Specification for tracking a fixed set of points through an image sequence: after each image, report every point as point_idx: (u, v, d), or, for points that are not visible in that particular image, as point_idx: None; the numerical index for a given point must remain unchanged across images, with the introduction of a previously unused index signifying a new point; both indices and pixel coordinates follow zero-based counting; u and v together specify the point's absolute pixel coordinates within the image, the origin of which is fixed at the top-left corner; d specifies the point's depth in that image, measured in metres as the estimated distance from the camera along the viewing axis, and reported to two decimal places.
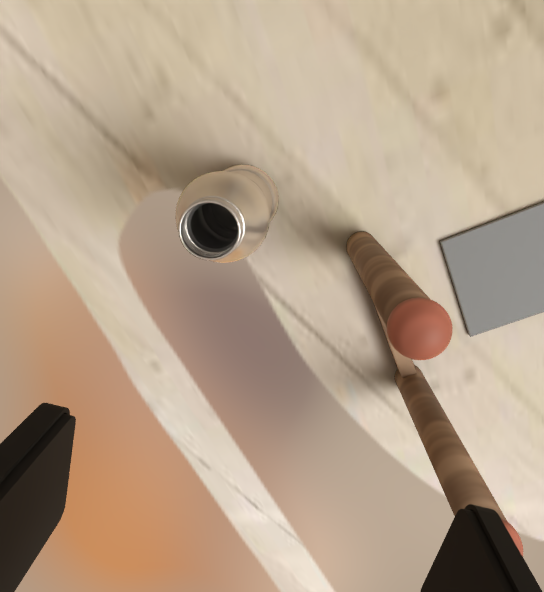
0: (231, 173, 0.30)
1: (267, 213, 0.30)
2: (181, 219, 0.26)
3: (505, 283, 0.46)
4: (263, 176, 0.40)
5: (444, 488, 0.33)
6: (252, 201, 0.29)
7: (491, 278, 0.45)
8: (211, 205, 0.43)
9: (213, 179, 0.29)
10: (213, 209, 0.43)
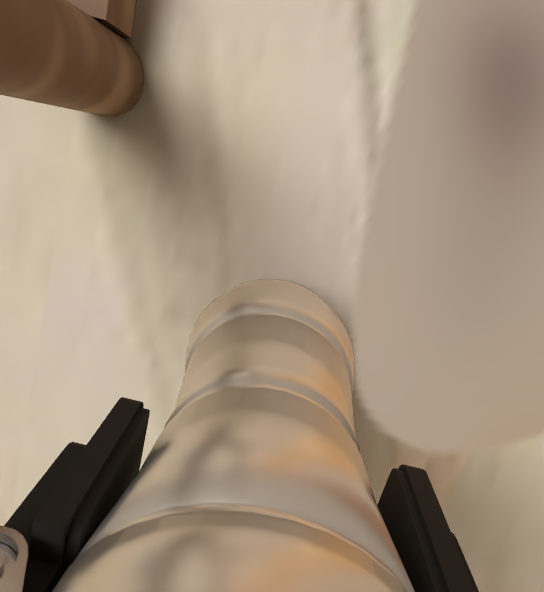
0: None
1: None
2: None
3: None
4: None
5: None
6: None
7: None
8: None
9: None
10: None
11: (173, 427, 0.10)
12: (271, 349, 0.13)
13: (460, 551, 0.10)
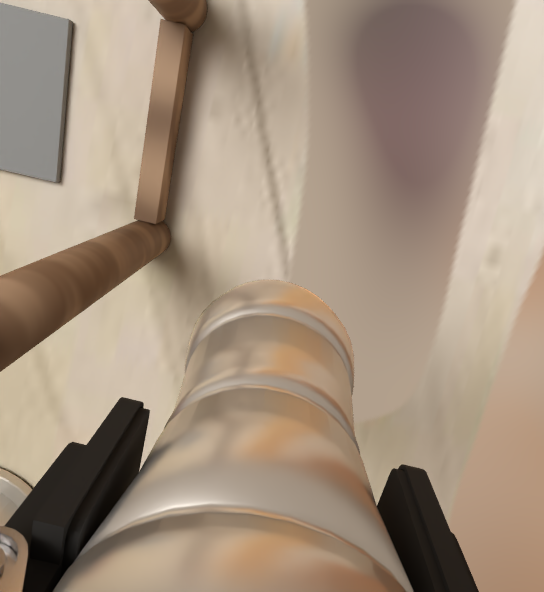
0: None
1: None
2: None
3: None
4: None
5: None
6: None
7: (11, 93, 0.32)
8: None
9: None
10: None
11: (173, 428, 0.10)
12: (271, 350, 0.13)
13: (460, 551, 0.10)
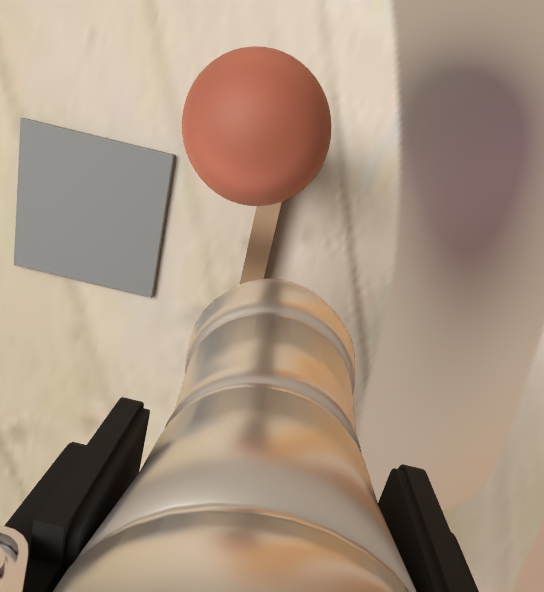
0: None
1: None
2: None
3: (100, 201, 0.33)
4: None
5: None
6: None
7: (113, 218, 0.33)
8: None
9: None
10: None
11: (174, 427, 0.10)
12: (272, 349, 0.13)
13: (460, 551, 0.10)
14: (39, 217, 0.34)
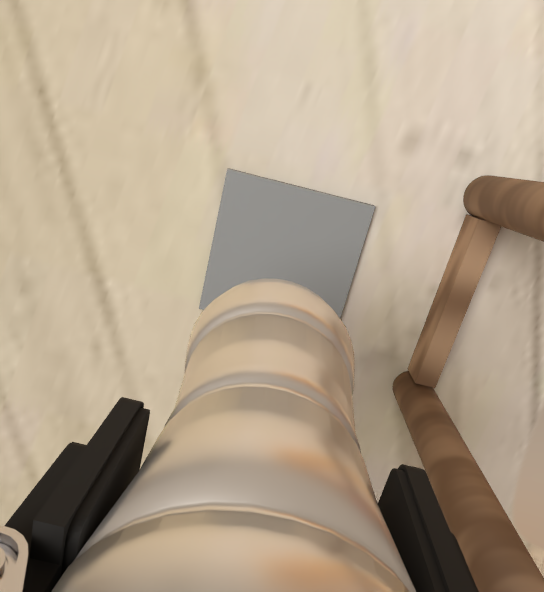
0: None
1: None
2: None
3: (295, 249, 0.33)
4: None
5: None
6: None
7: (306, 266, 0.34)
8: None
9: None
10: None
11: (173, 426, 0.10)
12: (271, 348, 0.13)
13: (460, 551, 0.10)
14: (231, 263, 0.34)
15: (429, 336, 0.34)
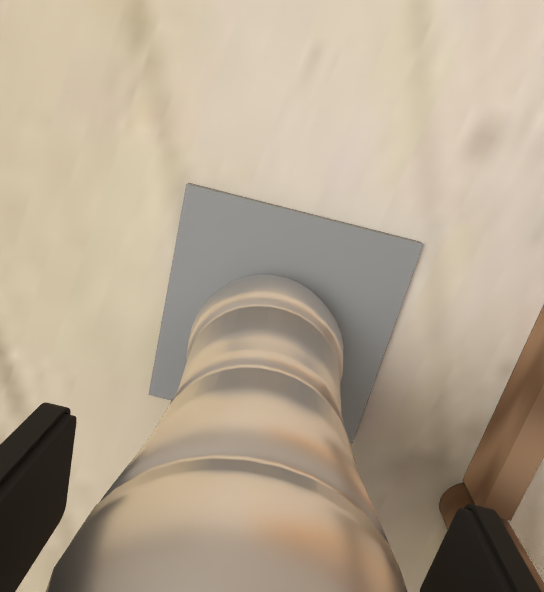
0: None
1: (50, 587, 0.07)
2: None
3: None
4: None
5: None
6: None
7: None
8: None
9: None
10: None
11: (179, 401, 0.11)
12: (266, 336, 0.14)
13: None
14: None
15: (503, 443, 0.22)
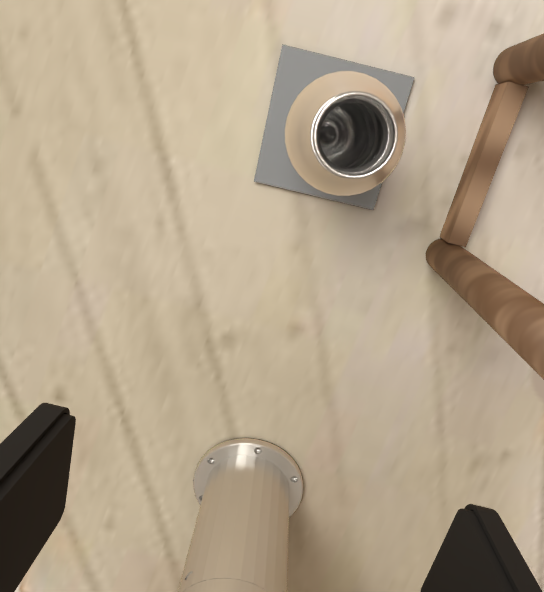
0: (300, 174, 0.25)
1: (294, 105, 0.23)
2: (374, 171, 0.20)
3: None
4: None
5: None
6: (297, 130, 0.23)
7: None
8: None
9: (319, 182, 0.24)
10: (364, 147, 0.36)
11: None
12: None
13: None
14: (284, 136, 0.38)
15: (461, 199, 0.38)
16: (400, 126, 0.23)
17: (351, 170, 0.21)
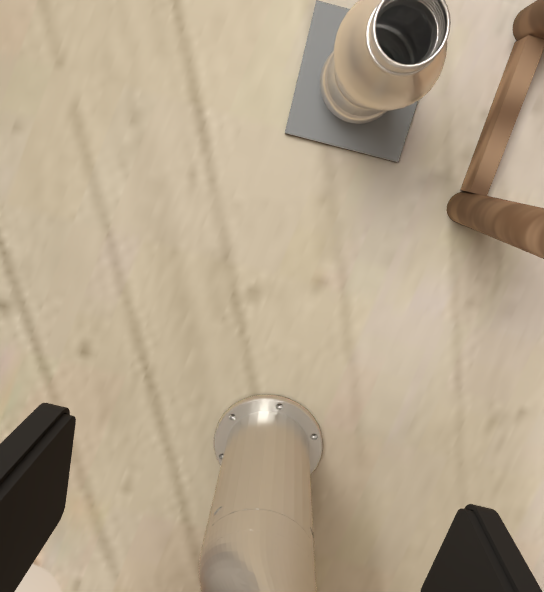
0: (347, 87, 0.27)
1: (344, 19, 0.25)
2: (426, 61, 0.21)
3: None
4: (324, 87, 0.36)
5: None
6: (348, 39, 0.25)
7: None
8: None
9: (366, 91, 0.26)
10: None
11: None
12: None
13: None
14: (315, 89, 0.40)
15: (482, 150, 0.40)
16: None
17: None
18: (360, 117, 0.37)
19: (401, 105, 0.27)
